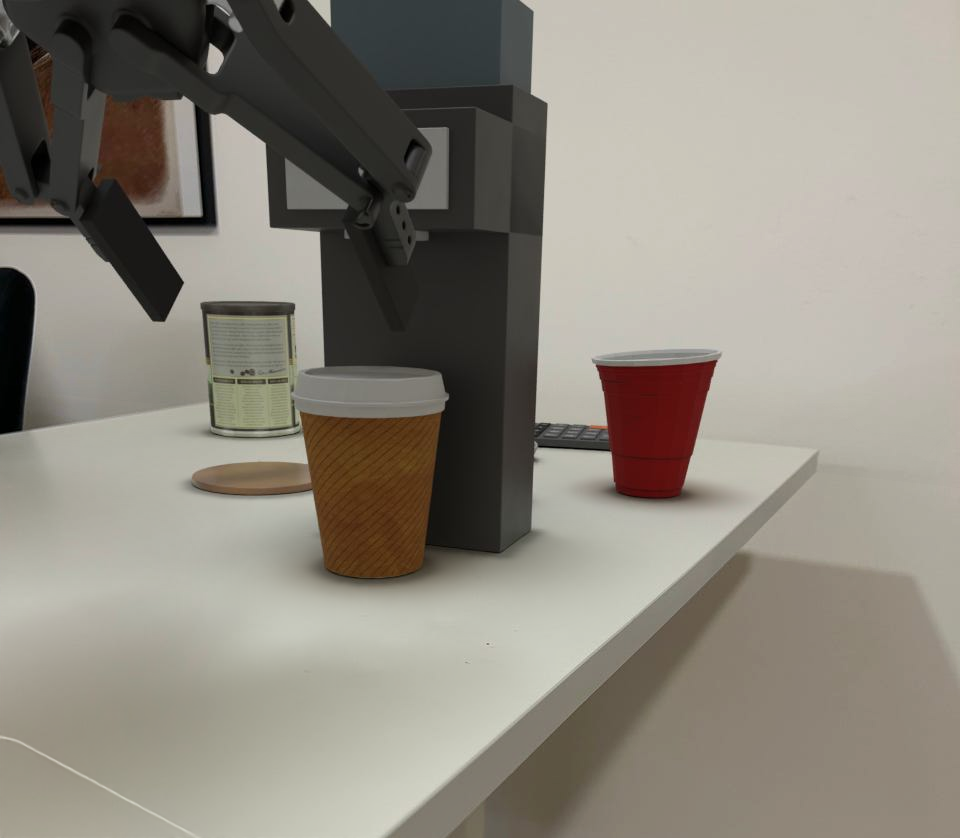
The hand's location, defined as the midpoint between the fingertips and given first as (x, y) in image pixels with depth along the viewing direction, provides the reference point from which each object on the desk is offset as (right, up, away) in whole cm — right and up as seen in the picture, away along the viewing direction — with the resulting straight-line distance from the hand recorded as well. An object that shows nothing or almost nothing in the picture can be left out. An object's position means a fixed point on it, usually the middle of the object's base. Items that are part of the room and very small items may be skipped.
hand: (282, 306), depth 49 cm
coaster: (-9, -2, +38) cm, 40 cm away
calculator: (+19, +6, +63) cm, 66 cm away
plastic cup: (+24, -4, +37) cm, 45 cm away
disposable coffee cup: (+3, -12, +14) cm, 19 cm away
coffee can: (-16, +7, +65) cm, 67 cm away
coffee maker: (+5, -10, +20) cm, 23 cm away
